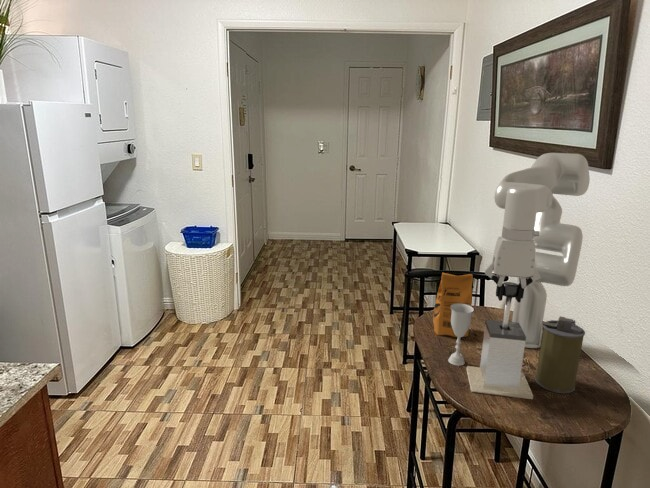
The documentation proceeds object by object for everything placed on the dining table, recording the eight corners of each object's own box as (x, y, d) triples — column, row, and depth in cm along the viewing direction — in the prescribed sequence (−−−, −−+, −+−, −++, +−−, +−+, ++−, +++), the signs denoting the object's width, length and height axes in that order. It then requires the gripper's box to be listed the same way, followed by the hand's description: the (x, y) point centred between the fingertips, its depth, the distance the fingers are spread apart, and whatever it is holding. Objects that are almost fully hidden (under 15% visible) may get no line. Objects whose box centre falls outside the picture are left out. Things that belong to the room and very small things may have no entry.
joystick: (522, 375, 131) (530, 321, 126) (532, 399, 119) (541, 340, 115) (466, 368, 134) (472, 315, 130) (471, 391, 122) (477, 334, 118)
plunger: (509, 353, 126) (519, 281, 121) (514, 363, 121) (524, 289, 115) (488, 351, 127) (497, 280, 122) (492, 360, 122) (501, 287, 116)
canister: (575, 380, 129) (587, 316, 124) (574, 398, 120) (586, 330, 115) (535, 369, 134) (544, 308, 129) (531, 386, 125) (540, 321, 120)
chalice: (469, 368, 134) (475, 313, 129) (446, 365, 135) (451, 311, 131) (466, 356, 141) (472, 304, 136) (444, 354, 142) (449, 302, 138)
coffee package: (431, 324, 164) (436, 268, 159) (466, 327, 162) (472, 270, 157) (433, 336, 155) (438, 276, 149) (470, 339, 153) (476, 279, 147)
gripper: (547, 233, 117) (538, 297, 122) (481, 229, 120) (474, 292, 125) (556, 239, 110) (545, 307, 115) (485, 235, 113) (478, 302, 118)
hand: (508, 299), depth 120 cm, fingers closed on plunger, 4 cm apart
